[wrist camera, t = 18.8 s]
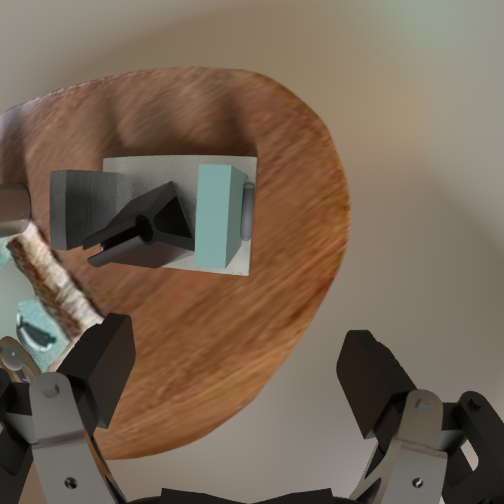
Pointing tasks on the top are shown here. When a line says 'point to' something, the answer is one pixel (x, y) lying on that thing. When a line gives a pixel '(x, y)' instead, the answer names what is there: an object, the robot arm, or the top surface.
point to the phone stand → (145, 232)
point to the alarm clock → (17, 361)
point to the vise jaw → (222, 214)
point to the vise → (130, 187)
